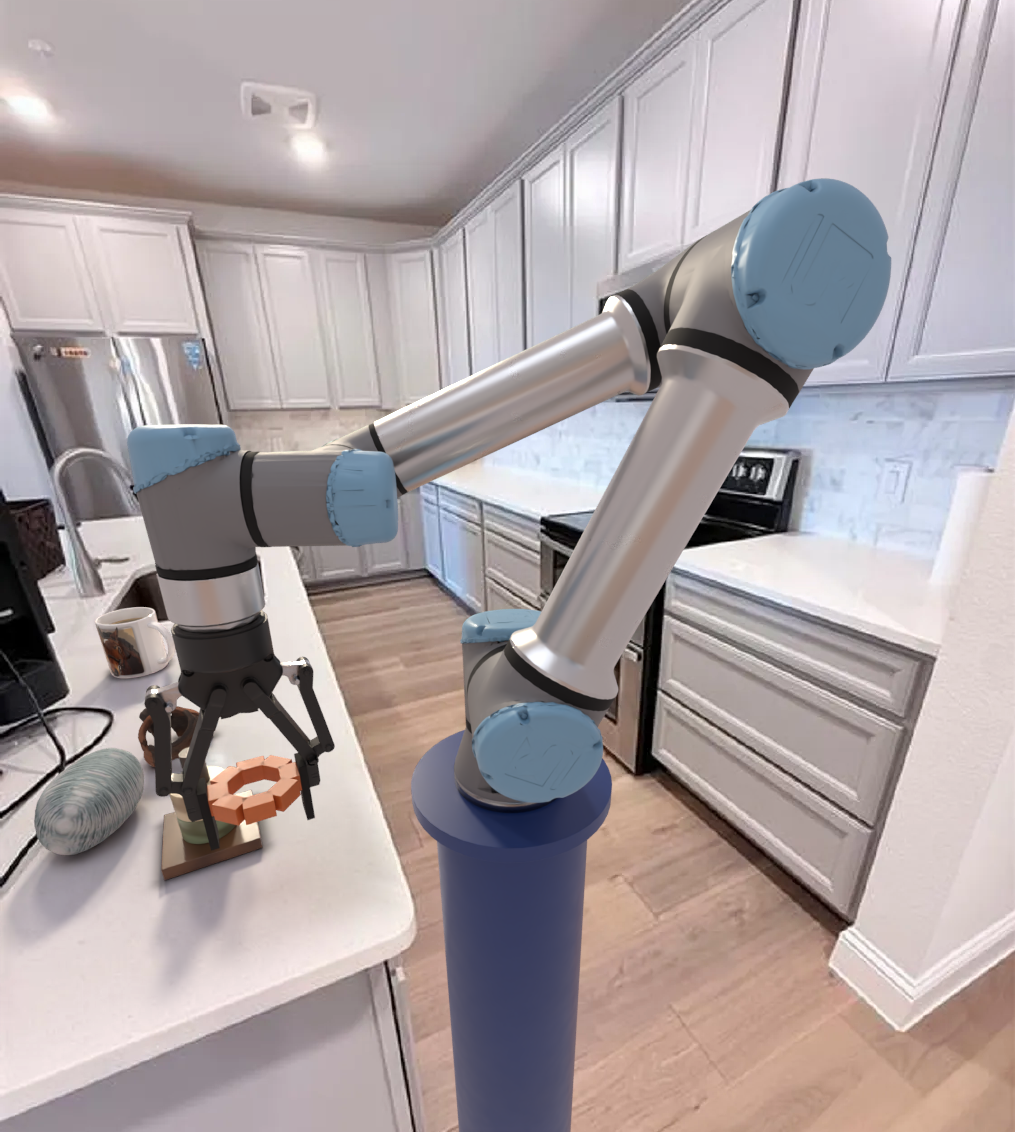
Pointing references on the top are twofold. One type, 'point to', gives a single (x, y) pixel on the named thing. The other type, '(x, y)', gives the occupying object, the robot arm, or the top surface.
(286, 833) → the top surface
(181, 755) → the stacking post
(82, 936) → the top surface
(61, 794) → the streaked grey ellipsoid
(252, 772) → the terracotta ring
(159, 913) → the top surface
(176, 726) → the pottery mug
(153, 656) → the mug
